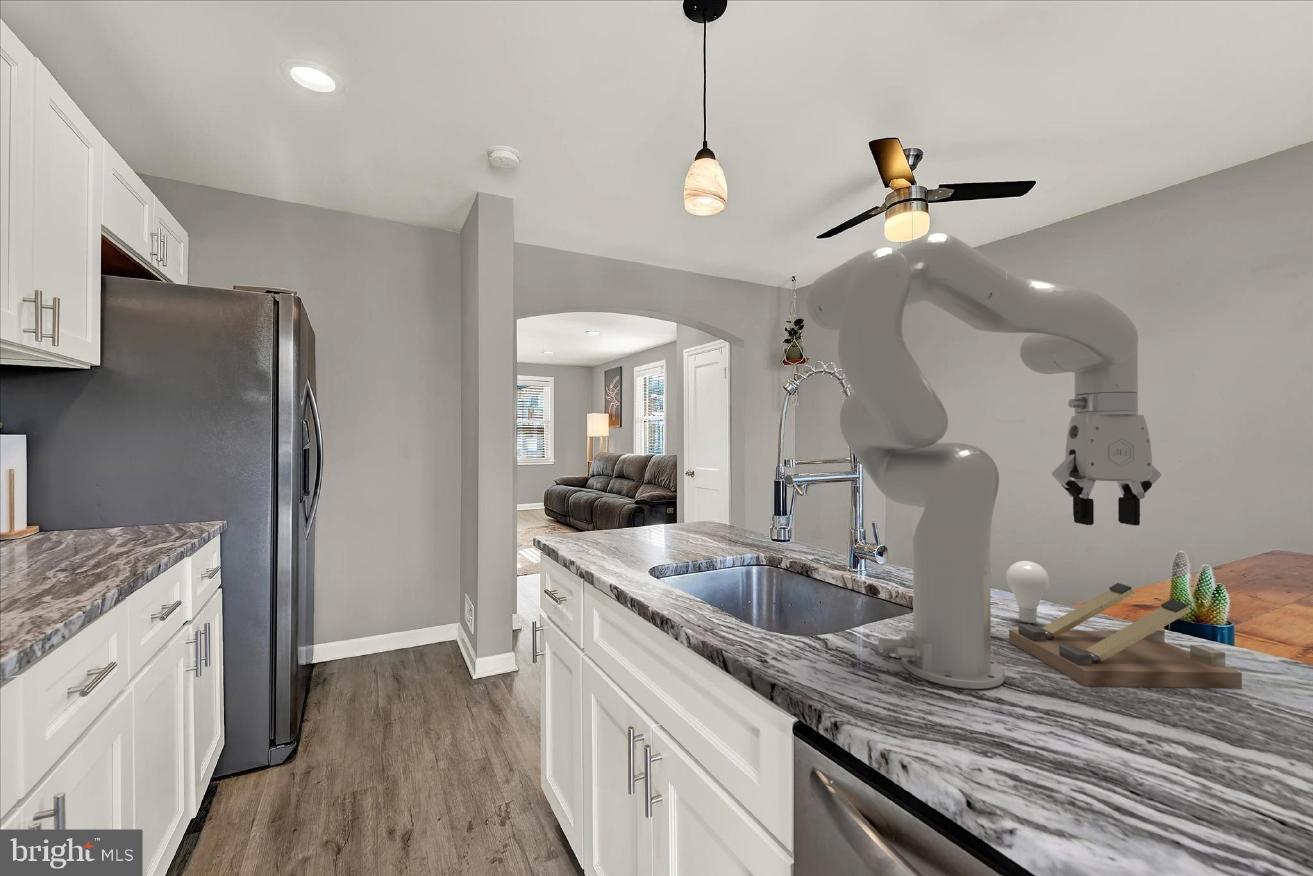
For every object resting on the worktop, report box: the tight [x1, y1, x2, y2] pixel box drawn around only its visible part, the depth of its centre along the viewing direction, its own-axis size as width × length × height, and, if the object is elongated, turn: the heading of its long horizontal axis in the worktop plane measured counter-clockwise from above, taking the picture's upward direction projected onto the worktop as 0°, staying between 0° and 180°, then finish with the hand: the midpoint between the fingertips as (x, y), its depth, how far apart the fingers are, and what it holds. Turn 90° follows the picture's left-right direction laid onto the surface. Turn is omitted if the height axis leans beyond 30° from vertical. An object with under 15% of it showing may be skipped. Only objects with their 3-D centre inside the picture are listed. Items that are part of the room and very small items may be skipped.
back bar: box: [1037, 582, 1135, 640], centre depth 84 cm, size 15×2×1 cm, turn 89°
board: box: [1008, 623, 1243, 689], centre depth 80 cm, size 20×16×4 cm
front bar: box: [1083, 598, 1192, 664], centre depth 75 cm, size 15×2×1 cm, turn 89°
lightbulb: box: [1005, 560, 1051, 625], centre depth 97 cm, size 6×6×11 cm
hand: (1106, 523), depth 84 cm, fingers open, 6 cm apart
